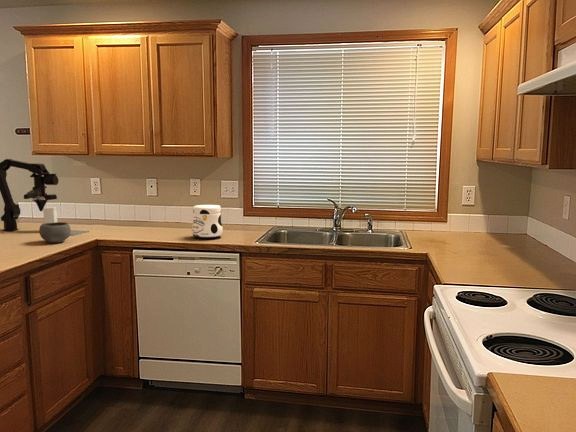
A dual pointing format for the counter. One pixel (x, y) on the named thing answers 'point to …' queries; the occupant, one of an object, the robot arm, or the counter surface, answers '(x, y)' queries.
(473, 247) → the counter surface
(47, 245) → the counter surface
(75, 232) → the mat
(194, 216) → the milk container
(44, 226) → the bowl
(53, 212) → the skincare box
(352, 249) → the counter surface
